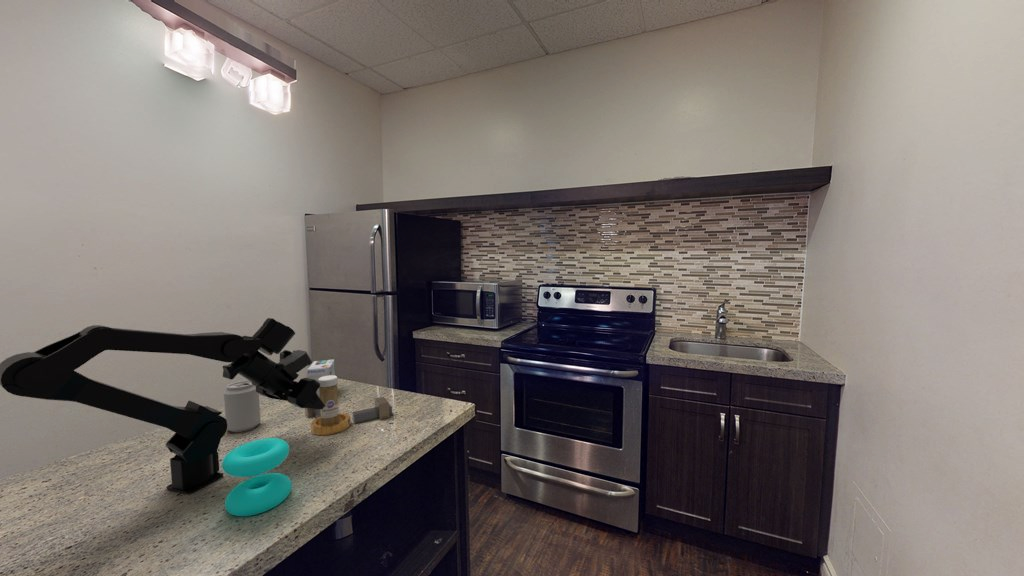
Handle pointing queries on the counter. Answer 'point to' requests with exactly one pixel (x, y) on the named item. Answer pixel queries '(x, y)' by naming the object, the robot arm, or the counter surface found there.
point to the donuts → (261, 488)
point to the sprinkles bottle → (329, 400)
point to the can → (241, 406)
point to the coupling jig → (379, 411)
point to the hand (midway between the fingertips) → (312, 404)
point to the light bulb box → (321, 370)
